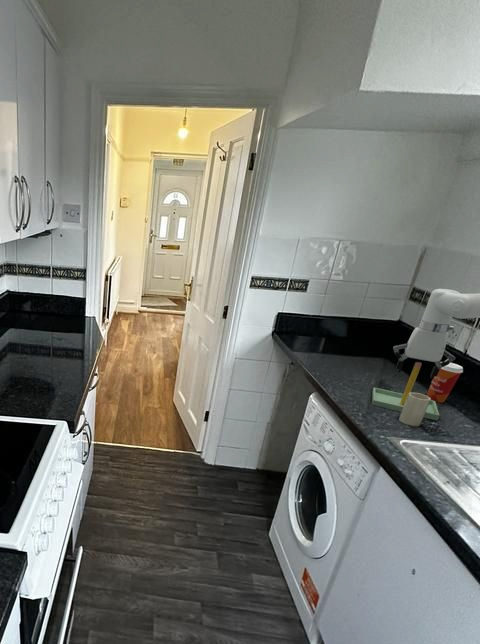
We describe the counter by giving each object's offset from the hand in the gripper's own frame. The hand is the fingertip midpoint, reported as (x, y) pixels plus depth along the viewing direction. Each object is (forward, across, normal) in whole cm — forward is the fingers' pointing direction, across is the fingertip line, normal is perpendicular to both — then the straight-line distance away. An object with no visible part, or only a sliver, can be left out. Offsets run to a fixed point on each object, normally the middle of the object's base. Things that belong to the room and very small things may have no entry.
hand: (414, 374), depth 145 cm
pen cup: (+12, -1, +16) cm, 20 cm away
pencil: (+12, 0, 0) cm, 12 cm away
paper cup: (+12, -11, -15) cm, 22 cm away
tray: (+12, 0, 0) cm, 12 cm away
